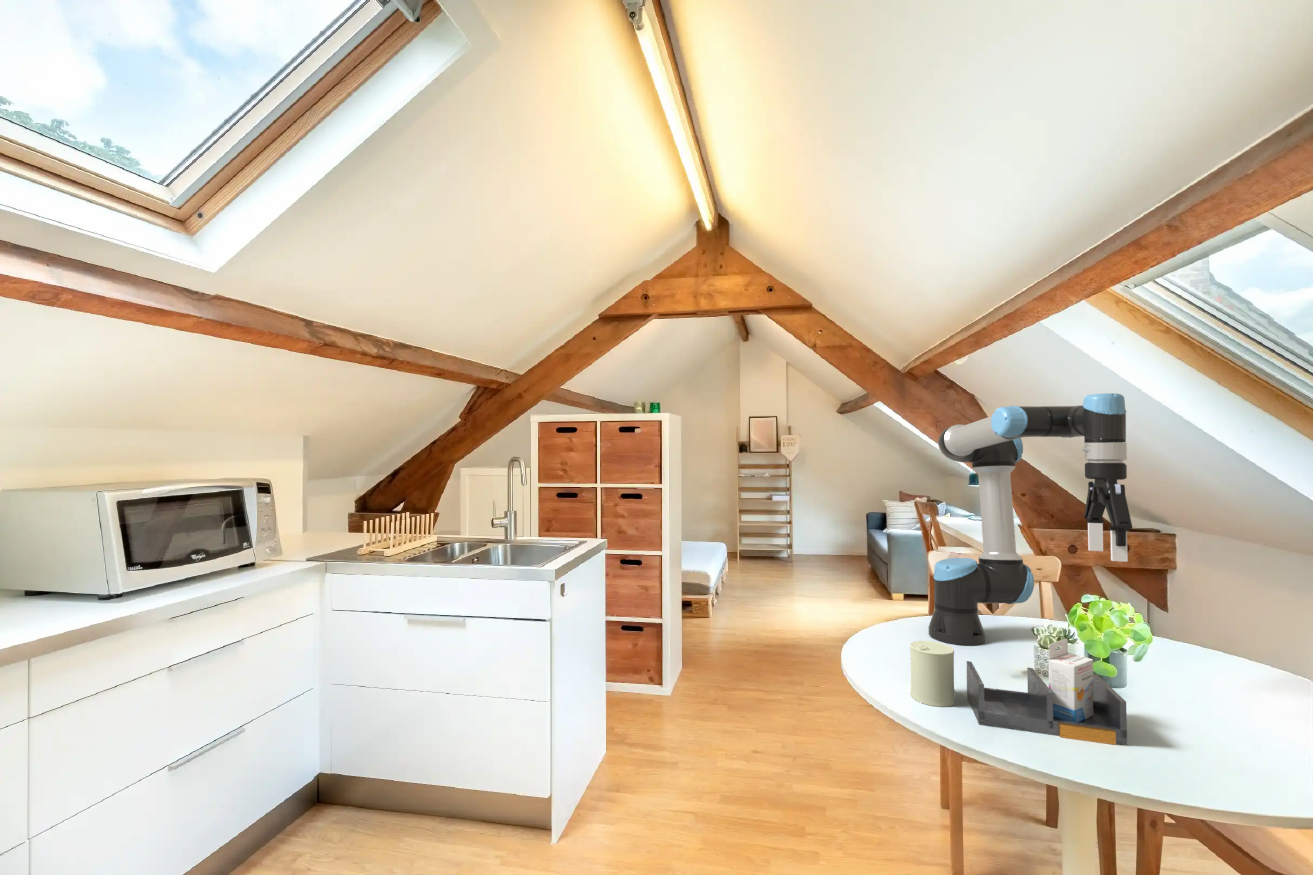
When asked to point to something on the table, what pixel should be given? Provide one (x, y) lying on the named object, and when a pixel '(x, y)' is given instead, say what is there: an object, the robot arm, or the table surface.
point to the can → (932, 673)
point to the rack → (1047, 710)
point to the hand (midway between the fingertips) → (1106, 555)
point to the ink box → (1070, 683)
